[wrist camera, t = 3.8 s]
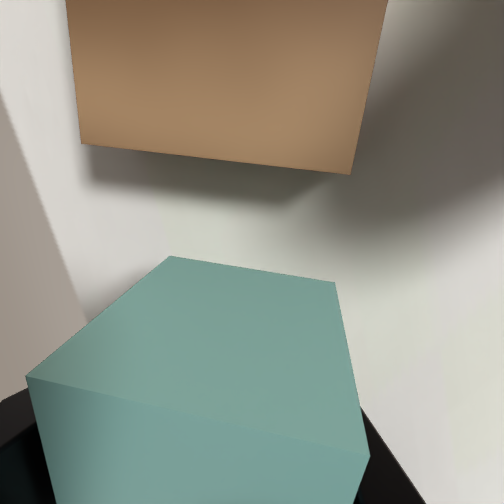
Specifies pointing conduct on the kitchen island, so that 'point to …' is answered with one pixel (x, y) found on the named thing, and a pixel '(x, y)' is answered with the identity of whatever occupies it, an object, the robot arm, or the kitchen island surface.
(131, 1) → the walnut plinth
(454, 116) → the kitchen island surface
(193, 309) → the teal cube
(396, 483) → the robot arm
